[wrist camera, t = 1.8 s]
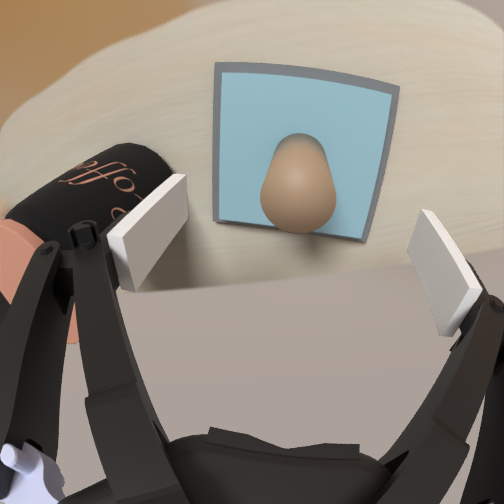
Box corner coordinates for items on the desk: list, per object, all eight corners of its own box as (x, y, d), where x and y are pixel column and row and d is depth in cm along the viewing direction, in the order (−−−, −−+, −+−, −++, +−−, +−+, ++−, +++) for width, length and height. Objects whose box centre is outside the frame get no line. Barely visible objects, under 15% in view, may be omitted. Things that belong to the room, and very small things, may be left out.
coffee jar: (200, 182, 29) (102, 308, 14) (151, 243, 34) (70, 359, 19) (125, 120, 26) (-17, 192, 11) (89, 189, 31) (-16, 279, 16)
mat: (214, 217, 31) (212, 221, 30) (217, 62, 21) (214, 62, 21) (364, 238, 29) (365, 242, 28) (397, 85, 20) (399, 86, 19)
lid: (222, 213, 29) (188, 276, 21) (225, 72, 21) (179, 72, 13) (359, 232, 28) (377, 303, 20) (387, 93, 20) (437, 107, 12)
